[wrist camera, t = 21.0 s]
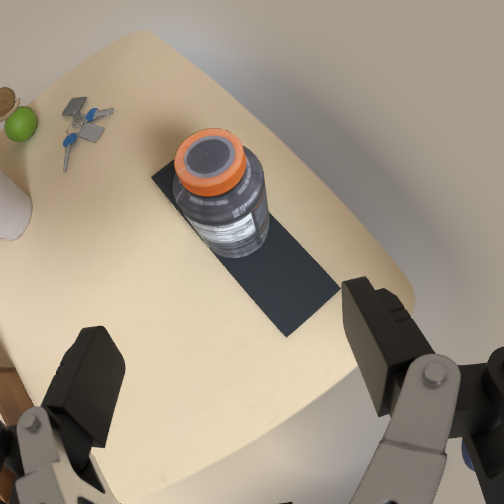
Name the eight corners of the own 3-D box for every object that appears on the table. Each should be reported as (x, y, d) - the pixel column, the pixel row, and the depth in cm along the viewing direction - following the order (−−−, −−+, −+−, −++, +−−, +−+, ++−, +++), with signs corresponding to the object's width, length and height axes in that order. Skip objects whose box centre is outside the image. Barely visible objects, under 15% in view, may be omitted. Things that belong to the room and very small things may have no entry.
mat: (340, 289, 25) (341, 288, 25) (286, 337, 25) (286, 337, 24) (198, 143, 31) (197, 141, 30) (152, 179, 30) (151, 177, 30)
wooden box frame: (77, 473, 22) (49, 486, 17) (32, 499, 20) (7, 509, 15) (15, 367, 25) (-16, 366, 21) (-20, 408, 24) (-47, 409, 19)
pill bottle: (227, 185, 29) (199, 102, 18) (282, 216, 27) (282, 136, 16) (189, 238, 27) (137, 173, 17) (244, 273, 26) (219, 221, 15)
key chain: (63, 106, 36) (60, 103, 35) (110, 79, 36) (108, 75, 35) (64, 175, 32) (61, 172, 31) (121, 143, 32) (119, 139, 31)
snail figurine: (12, 141, 36) (-32, 99, 24) (40, 114, 36) (-1, 67, 25) (15, 159, 34) (-33, 116, 23) (45, 130, 35) (0, 80, 24)
